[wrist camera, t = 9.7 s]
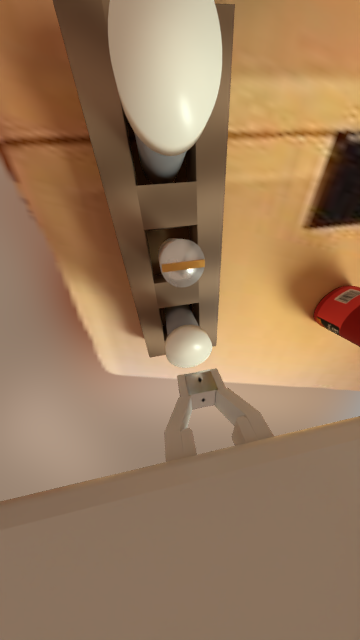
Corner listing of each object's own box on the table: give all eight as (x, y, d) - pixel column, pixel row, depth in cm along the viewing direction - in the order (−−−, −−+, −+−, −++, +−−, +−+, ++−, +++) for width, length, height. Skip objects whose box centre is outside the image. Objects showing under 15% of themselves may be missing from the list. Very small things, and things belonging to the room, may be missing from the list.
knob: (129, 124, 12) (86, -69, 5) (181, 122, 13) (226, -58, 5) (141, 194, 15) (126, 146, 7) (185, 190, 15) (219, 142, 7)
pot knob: (155, 239, 14) (156, 242, 9) (187, 236, 15) (206, 236, 9) (160, 272, 16) (163, 291, 11) (188, 269, 16) (206, 285, 11)
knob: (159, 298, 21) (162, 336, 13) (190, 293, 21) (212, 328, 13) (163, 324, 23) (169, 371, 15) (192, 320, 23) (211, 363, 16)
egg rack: (83, 71, 11) (51, -3, 7) (211, 71, 12) (234, 4, 8) (150, 340, 24) (149, 357, 21) (207, 330, 25) (216, 345, 22)
